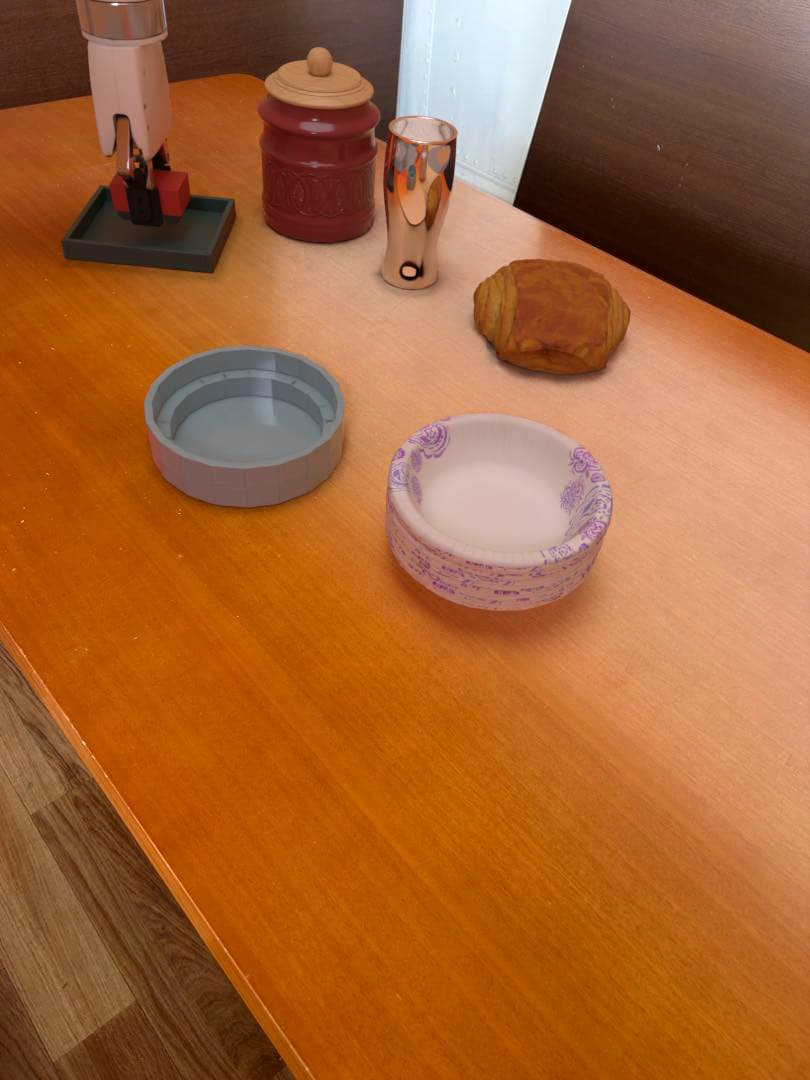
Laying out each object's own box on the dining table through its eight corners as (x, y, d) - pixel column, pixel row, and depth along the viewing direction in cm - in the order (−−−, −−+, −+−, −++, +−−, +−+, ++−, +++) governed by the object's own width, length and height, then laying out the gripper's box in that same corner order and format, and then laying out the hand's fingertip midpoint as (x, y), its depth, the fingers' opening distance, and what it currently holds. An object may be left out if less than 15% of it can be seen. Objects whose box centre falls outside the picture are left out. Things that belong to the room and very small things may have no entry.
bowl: (130, 502, 59) (119, 457, 56) (178, 381, 70) (171, 337, 66) (333, 520, 60) (334, 476, 57) (350, 397, 70) (352, 354, 67)
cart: (116, 219, 83) (108, 183, 80) (127, 201, 86) (121, 165, 83) (182, 226, 83) (178, 190, 81) (192, 207, 86) (187, 172, 84)
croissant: (480, 308, 86) (481, 236, 81) (627, 316, 83) (639, 242, 78) (459, 381, 76) (459, 304, 71) (626, 393, 73) (639, 314, 68)
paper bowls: (385, 478, 63) (393, 398, 58) (573, 494, 64) (599, 416, 58) (375, 632, 53) (382, 554, 47) (598, 649, 54) (633, 574, 48)
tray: (65, 258, 82) (60, 240, 80) (103, 202, 91) (99, 184, 89) (212, 273, 82) (210, 255, 81) (236, 215, 91) (234, 198, 90)
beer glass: (367, 263, 86) (375, 116, 76) (425, 255, 89) (441, 112, 78) (391, 296, 82) (404, 146, 71) (451, 287, 85) (472, 140, 74)
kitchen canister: (240, 210, 92) (228, 37, 79) (327, 184, 99) (329, 21, 86) (308, 256, 86) (307, 78, 73) (396, 226, 93) (410, 58, 80)
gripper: (108, -14, 77) (139, 176, 90) (48, 40, 66) (94, 248, 79) (185, -6, 77) (205, 183, 91) (139, 48, 66) (170, 255, 79)
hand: (153, 211), depth 85 cm, fingers closed on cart, 4 cm apart
